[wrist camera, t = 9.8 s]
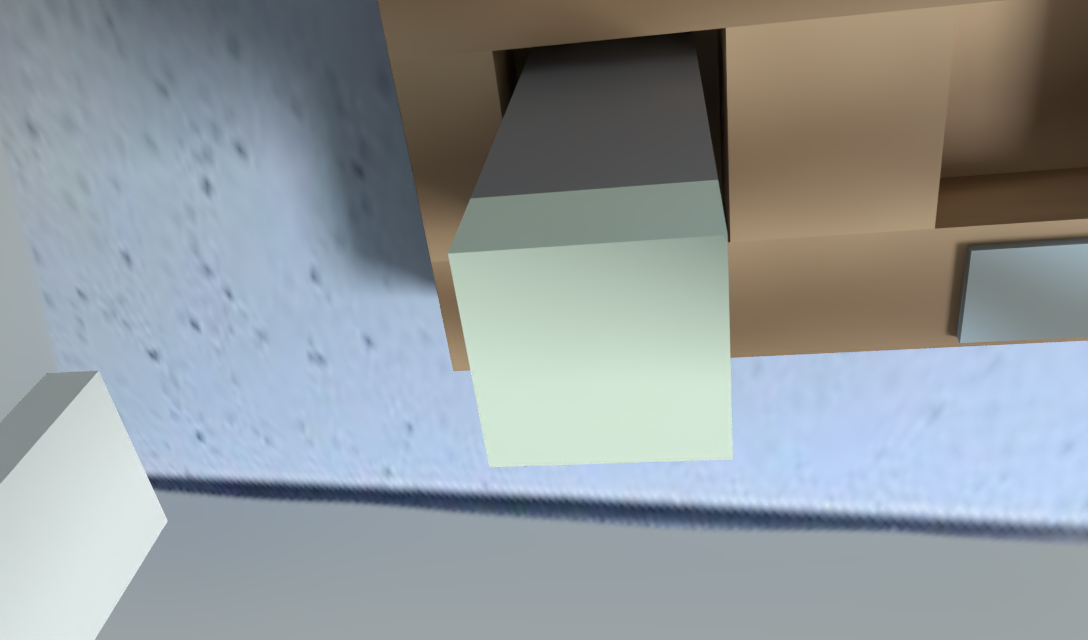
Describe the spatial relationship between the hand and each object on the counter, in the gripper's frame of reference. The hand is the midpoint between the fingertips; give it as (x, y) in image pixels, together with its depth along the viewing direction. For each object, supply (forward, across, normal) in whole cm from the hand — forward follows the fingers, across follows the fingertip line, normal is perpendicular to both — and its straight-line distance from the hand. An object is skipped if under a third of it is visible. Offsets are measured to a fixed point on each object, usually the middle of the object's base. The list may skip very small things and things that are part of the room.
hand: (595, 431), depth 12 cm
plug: (+14, 0, -1) cm, 14 cm away
